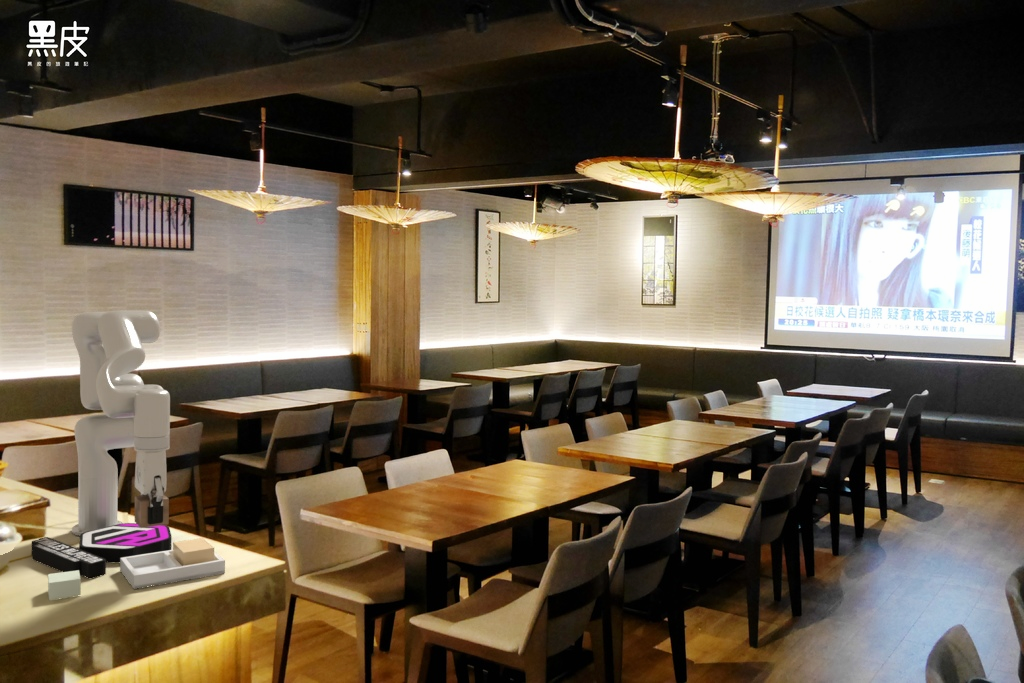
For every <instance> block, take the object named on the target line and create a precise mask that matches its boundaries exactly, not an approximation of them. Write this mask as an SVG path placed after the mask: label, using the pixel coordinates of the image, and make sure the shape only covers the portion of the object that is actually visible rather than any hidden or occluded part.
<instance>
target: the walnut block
mask: <svg viewBox="0 0 1024 683" xmlns="http://www.w3.org/2000/svg"><path fill="white" fill-rule="evenodd" d="M154 497H156V496H152V500H153V498H154ZM169 505H170V499H169V497H168V496H167V495H166V494H164V493H163V522H162V523H157V524H148V507H149V496H148V495H141V494H139V495H135V496H134V523H137V524H138V525H139V527H140V528H144V527H152V526H159V525H166V526H167V525H169V523H170V522H169V520H170V519H169V517H170V516H169V515H170V508H169V507H170V506H169Z"/></svg>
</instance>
